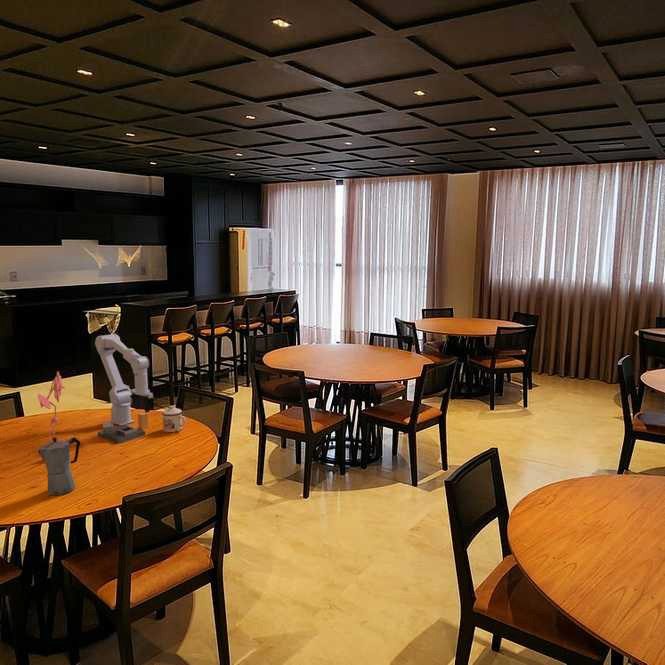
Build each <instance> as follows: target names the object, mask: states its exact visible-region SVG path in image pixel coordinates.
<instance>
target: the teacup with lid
mask: <svg viewBox="0 0 665 665" xmlns="http://www.w3.org/2000/svg"><path fill="white" fill-rule="evenodd" d="M161 414H162V428H163V430H162V431H163V432H164V433H168V432H173V433H175V432H174V431H178V430H180V429H182V430H183V427H184V426H185V425H186V423H187V419H186V417H185V416H183V415H182V414H183V411H182V409H180V408H177V407H175V406H174V405H170V406H169V407H168V408H167V409H164V410H162V412H161ZM178 432H179V431H178Z"/></svg>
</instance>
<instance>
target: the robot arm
mask: <svg viewBox="0 0 665 665" xmlns="http://www.w3.org/2000/svg"><path fill="white" fill-rule="evenodd" d="M94 345H95V348H96V351H97V352H98V354H99V355H100V359H101V362H102V364H103V367H104V369H105V373H106V374H107V378H108V380H109V382H110V385H111V387H112V388H111V389H110V390H109V392H108V395H109V402H110V403H111V405H112V406H111V407H110V418H111V420H110V421H111V422H113V424H115V425H118V426H121V425H128V424H132V423H135V419H134V420H133V419H132V418H131V415H132V414H131V405H132V403H133V405H134V409H135V410H136V411H137V410H140V409H141V404H142V403H143V404H142V405H143V408H144V413H150V411H151V407H152V403H153V401H154V399H155V396H154V394H153V392H151V390H150V389H149V387H148V386H149V383H148V368H150V360H149V358H148V357H147V356H145V355H144V356H143V355H140V354H139V353H138V352H136V351H135V349H134V348H128V347H127V346H126V345H125V344H124V343H123V342H122V341H121V338H120V336H119V335H118V334H117V333H112V334H105V335H104V334H103V335H98V336H97V337H96V338H95V342H94ZM116 351H118V352H119V353H120V354H122V358H123V359H124V360H126V361H127V362H128V363H129V364H130V366H131V369H132V373H133V374H134V375H133V376H134V388H132V389H130V386H129V385H126V384H124V382H123V379H122V376H121V374H120V371H119V369H118V366H117V364H116V361H115V359H114V357H113V356H114V355H113V354H114V352H116ZM141 401H142V402H141Z"/></svg>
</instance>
